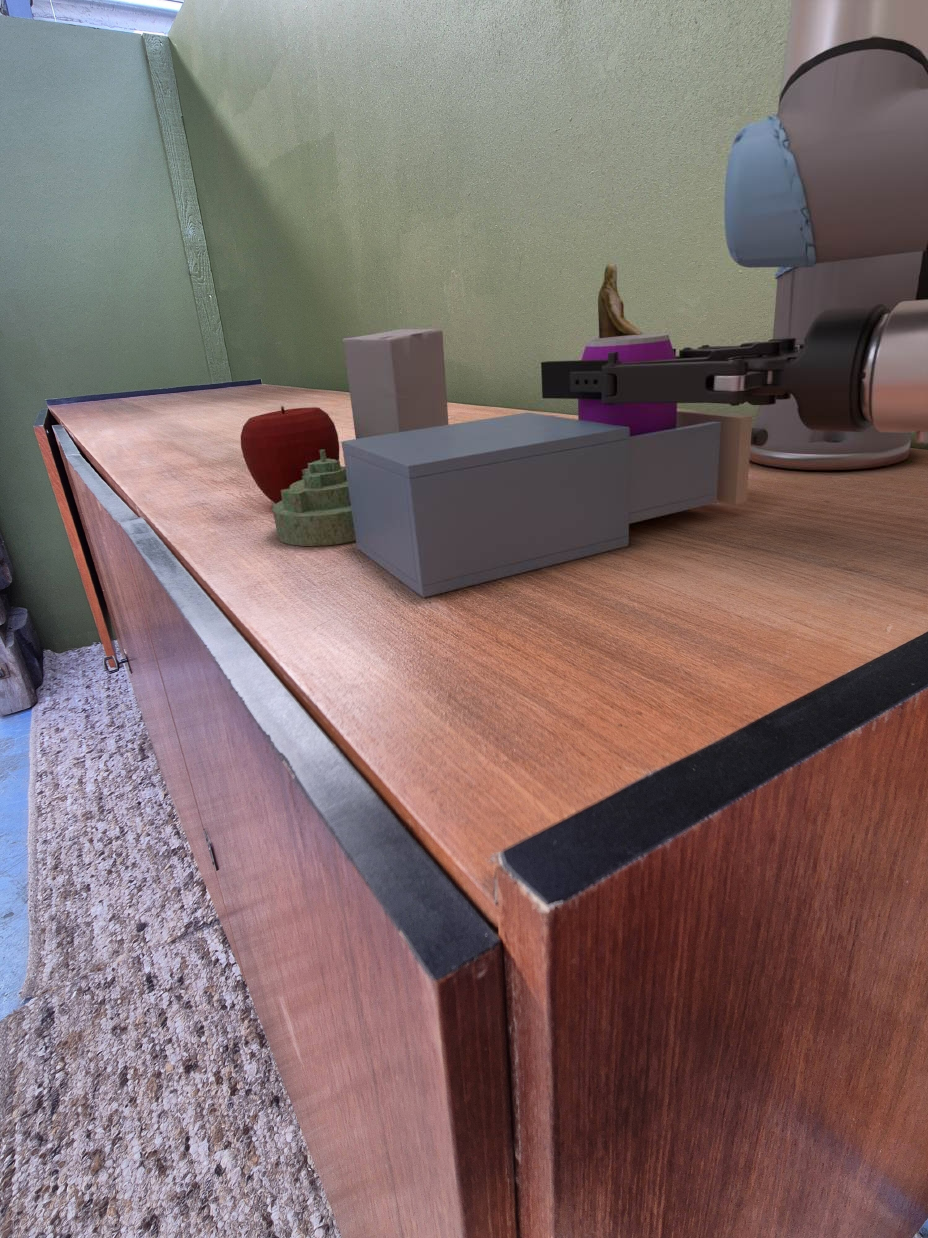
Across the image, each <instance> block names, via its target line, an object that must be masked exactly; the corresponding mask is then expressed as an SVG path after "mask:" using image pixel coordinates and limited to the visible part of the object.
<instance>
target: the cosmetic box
mask: <svg viewBox="0 0 928 1238" xmlns="http://www.w3.org/2000/svg"><path fill="white" fill-rule="evenodd" d="M443 336H444V335H443V330H442V328H401V329H400V328H398V329H393V330H390V331H388V330H387V331H384V332H379V333H373V334H366V335H359V336H353V337H346V338H343V339H342V342H343V350H344V359H345V366H346V373H347V381H348V391H349V397H350V404H351V412H352V413H351V414H352V421H353V428H354V435H355V436H354V437H355V439H360V438H366V437H372V436H379V435H385V434H392V433H398V432H405V431H411V430H418V429H424V428H431V427H437V426H444V425H450V424H449V411H448V395H447V382H446V381H447V380H446V366H445V365H446V364H445V354H444V353H445V351H444V338H443Z"/></svg>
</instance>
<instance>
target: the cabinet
mask: <svg viewBox="0 0 928 1238" xmlns="http://www.w3.org/2000/svg"><path fill="white" fill-rule="evenodd" d="M629 429H630V428H629V427H625V426H618V425H611V424H604V423H597V422H590V421H583V420H578V418H576V419H575V418H568V417H562V416H556V415H550V414H549V415H548V414H541V413H534V412H522V413H515V414H509V415H501V416H496V417H489V418H483V419H477V420H471V421H470V420H469V421H464V422H458V423H451V424H449V425H444V426H437V427H431V428H424V429H418V430H411V431H405V432H398V433H392V434H385V435H379V436H372V437H366V438H360V439H356V438H353V439H347V440H341V442H340V443H341V450H342V455H343V463H344V466H345V470H346V476H347V483H348V490H349V497H350V503H351V510H352V517H353V523H354V530H355V537H356V541H355V542H356V543H355V544H356V549H357V550H358V551H359V552H361V553H362V554H363V555H365V556H367V557H368V558H369V559H370V560H371V561H373V562H374V563H376V564H377V565H378V566H379V567H381V568H383V569H384V570H386V571H387V572H388V573H389V574H391V575H392V576H393V577H394V578H396V579H397V580H399V582H402V583H403V585H405V586H407V587H408V588H410V589H411V590H412V591H413V592H415V593H416V594H418V595H419V596H420V597H421V598H423V599H424V598H428V597H432V596H436V595H440V594H443V593H444V594H445V593H448V592H453V591H455V590H459V589H464V588H468V587H471V586H475V585H480V584H483V583H487V582H491V581H496V580H499V579H504V578H507V577H510V576H511V577H512V576H515V575H519V574H523V573H527V572H531V571H535V570H539V569H542V568H547V567H550V566H555V565H559V564H562V563H566V562H570V561H574V560H578V559H583V558H586V557H590V556H594V555H597V554H601V553H606V552H610V551H614V550H617V549H621V548H626V547H629V546H630V545H629V544H630V541H629V540H630V539H629V535H630V524H629Z"/></svg>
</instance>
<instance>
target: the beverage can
mask: <svg viewBox="0 0 928 1238" xmlns="http://www.w3.org/2000/svg"><path fill="white" fill-rule="evenodd" d="M673 349H674V348H673V345H672V341H671V339H670V334H669V333H646V334H645V333H644V335H631V336H619V337H609V338H600V339H599V338H593V339H588V340H586V343H585V347H584V350H583V353H582V356H581V359H580V360H608V352H616V351H618V359H619V361H620V362H634V361H651V360H668V359H676V356H677V355H676V356H675V354H674V351H673ZM677 408H678V403H614V405H607V404H603V403H602V399H577V420H583V421H590V422H597V423H604V424H611V425H618V426H625V427H629V428H630V429H629V437H631V436H636V435H642V434H647V433H653V432H658V431H664V430H669V429H675V428H676V420H677Z"/></svg>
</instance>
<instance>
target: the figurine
mask: <svg viewBox="0 0 928 1238" xmlns="http://www.w3.org/2000/svg"><path fill="white" fill-rule="evenodd" d="M617 282H618V266H617V264H615V263H614V262H609V263H608V264H607V265H606V266H605V269H604V275H603V282H602V285H601V286H600V289H599V291H598V298H597V313H598V314H597V315H598V316H597V318H598V339H600V338H609V337H619V336H631V335H645V333H644V332H643V331H641V330H640V329H638V328H637V327H636V326H634V325H633V324H632V323H630V322H629V320H627V318H626V317H625V311H624V308H625V307H624V306H625V304H624V302H623V299H622V298H621V297H620V294H619V291H618V283H617Z"/></svg>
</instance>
